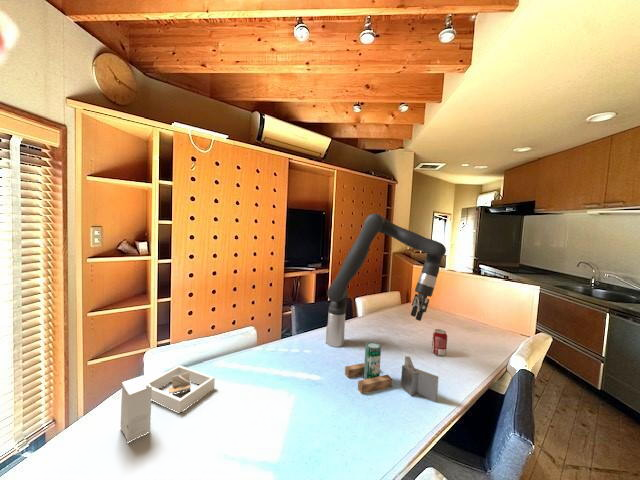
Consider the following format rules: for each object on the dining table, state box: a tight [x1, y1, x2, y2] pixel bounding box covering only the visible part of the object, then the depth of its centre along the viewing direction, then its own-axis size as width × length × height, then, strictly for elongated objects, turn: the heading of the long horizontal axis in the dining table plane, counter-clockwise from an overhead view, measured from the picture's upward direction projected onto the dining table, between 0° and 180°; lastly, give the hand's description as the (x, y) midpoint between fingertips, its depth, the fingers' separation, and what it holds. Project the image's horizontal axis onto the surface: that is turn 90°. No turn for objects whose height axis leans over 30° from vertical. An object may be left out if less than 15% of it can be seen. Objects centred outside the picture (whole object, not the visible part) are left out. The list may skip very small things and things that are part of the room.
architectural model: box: [168, 372, 191, 395], centre depth 95 cm, size 3×7×7 cm, turn 124°
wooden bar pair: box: [344, 362, 393, 395], centre depth 109 cm, size 14×14×4 cm
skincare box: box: [119, 375, 152, 443], centre depth 78 cm, size 8×6×15 cm
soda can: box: [431, 328, 448, 357], centre depth 135 cm, size 7×7×12 cm
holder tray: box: [148, 364, 216, 413], centre depth 97 cm, size 19×15×4 cm
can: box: [363, 341, 382, 380], centre depth 110 cm, size 6×6×15 cm
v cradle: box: [400, 355, 439, 403], centre depth 104 cm, size 8×18×9 cm, turn 22°
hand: (415, 318), depth 120 cm, fingers open, 8 cm apart
